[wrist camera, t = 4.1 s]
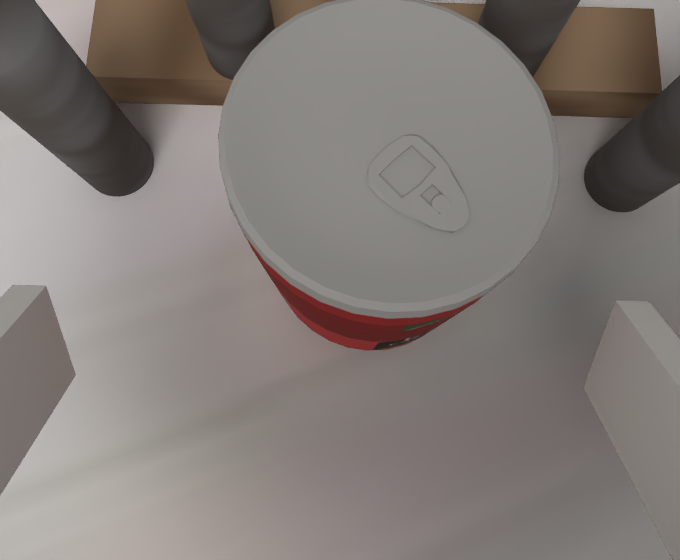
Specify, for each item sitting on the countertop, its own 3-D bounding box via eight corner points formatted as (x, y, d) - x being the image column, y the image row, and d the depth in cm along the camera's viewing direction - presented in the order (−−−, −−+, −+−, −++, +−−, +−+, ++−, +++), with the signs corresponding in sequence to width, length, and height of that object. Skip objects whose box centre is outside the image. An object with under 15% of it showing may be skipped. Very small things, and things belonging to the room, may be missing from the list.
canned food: (402, 388, 22) (464, 385, 11) (238, 288, 22) (143, 192, 12) (490, 232, 23) (624, 91, 12) (332, 143, 24) (325, -62, 13)
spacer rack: (639, 39, 25) (804, -155, 16) (655, 213, 23) (850, 102, 14) (105, 24, 25) (-24, -177, 16) (81, 195, 23) (-78, 75, 14)
